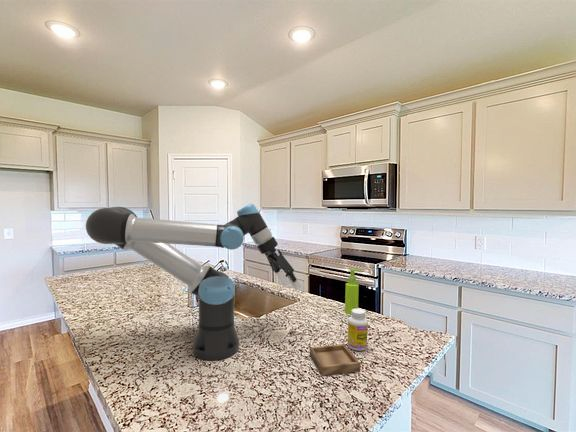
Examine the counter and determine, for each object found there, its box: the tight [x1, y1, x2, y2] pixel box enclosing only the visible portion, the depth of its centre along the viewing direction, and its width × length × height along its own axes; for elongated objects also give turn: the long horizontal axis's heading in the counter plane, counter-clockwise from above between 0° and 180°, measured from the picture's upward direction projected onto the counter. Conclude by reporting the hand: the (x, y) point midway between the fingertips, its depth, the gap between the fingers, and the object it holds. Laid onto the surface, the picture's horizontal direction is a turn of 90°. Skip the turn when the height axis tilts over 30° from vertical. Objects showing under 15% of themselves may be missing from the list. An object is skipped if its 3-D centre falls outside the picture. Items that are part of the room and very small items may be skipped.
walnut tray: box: [309, 343, 361, 377], centre depth 93 cm, size 12×12×2 cm
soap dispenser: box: [344, 268, 362, 315], centre depth 136 cm, size 6×7×20 cm
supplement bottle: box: [347, 308, 369, 352], centre depth 103 cm, size 7×7×13 cm
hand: (292, 286), depth 117 cm, fingers open, 13 cm apart
